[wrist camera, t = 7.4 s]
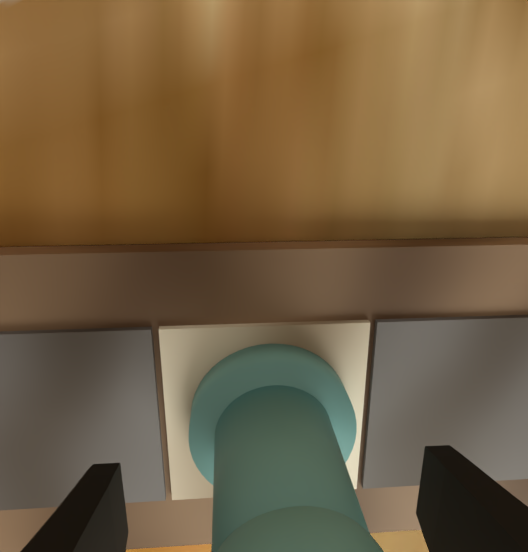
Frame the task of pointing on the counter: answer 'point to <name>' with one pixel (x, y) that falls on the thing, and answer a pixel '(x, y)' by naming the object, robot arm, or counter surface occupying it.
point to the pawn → (278, 453)
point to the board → (245, 333)
